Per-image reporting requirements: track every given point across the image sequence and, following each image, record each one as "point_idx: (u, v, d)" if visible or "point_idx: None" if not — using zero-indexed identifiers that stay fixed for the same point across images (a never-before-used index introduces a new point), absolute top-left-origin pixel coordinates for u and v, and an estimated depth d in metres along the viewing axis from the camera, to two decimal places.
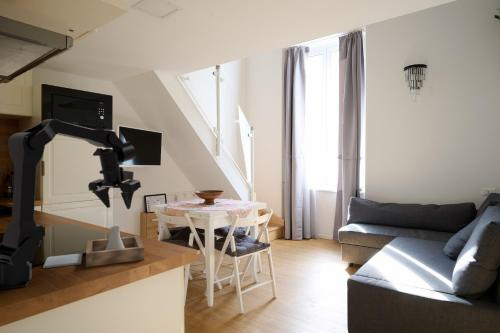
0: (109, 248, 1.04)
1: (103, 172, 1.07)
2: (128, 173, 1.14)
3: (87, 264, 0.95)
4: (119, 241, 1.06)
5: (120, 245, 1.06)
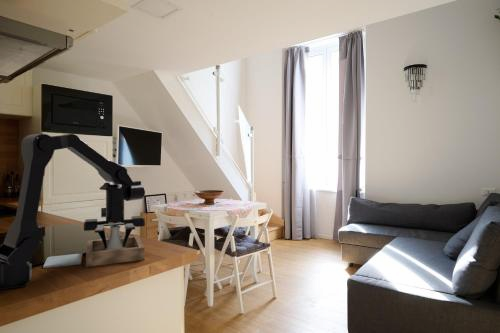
0: (109, 248, 1.04)
1: (113, 208, 1.04)
2: None
3: (87, 264, 0.95)
4: (119, 241, 1.06)
5: (120, 245, 1.06)
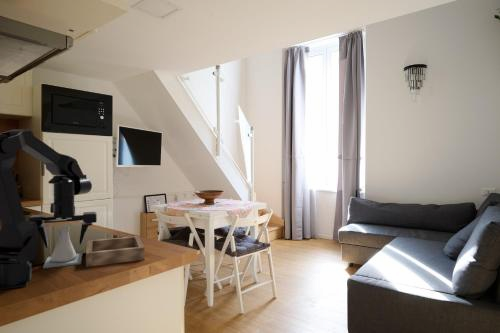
0: (57, 251, 0.98)
1: (60, 202, 0.97)
2: None
3: (87, 264, 0.95)
4: (68, 244, 1.00)
5: (69, 248, 0.99)
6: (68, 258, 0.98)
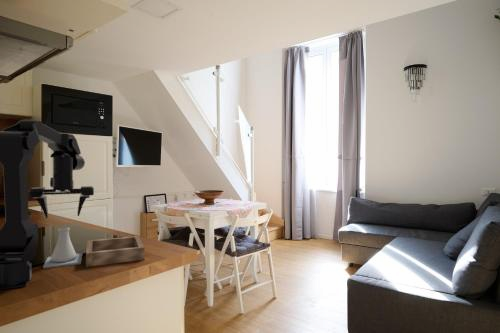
0: (57, 251, 0.98)
1: (59, 175, 1.04)
2: None
3: (87, 264, 0.95)
4: (68, 244, 1.00)
5: (69, 248, 0.99)
6: (68, 258, 0.98)
